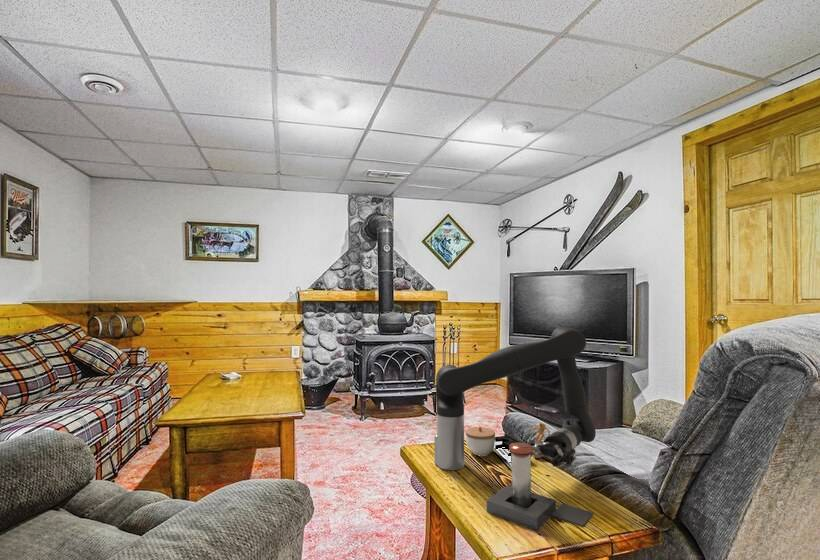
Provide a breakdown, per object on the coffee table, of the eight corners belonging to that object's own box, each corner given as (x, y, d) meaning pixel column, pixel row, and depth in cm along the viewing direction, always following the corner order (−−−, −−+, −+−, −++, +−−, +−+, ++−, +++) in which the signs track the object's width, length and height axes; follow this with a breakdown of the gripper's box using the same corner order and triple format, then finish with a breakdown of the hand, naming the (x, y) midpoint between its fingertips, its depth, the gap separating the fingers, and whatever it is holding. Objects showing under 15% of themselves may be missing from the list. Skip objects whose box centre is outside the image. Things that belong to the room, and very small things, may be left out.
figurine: (524, 455, 153) (524, 421, 154) (535, 451, 157) (535, 418, 157) (542, 462, 146) (542, 427, 147) (554, 459, 150) (554, 424, 150)
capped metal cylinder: (505, 512, 114) (505, 446, 114) (516, 503, 118) (515, 440, 119) (527, 520, 110) (526, 452, 110) (536, 510, 114) (536, 446, 115)
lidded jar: (475, 460, 148) (475, 433, 149) (460, 450, 158) (459, 424, 159) (501, 455, 153) (501, 429, 153) (484, 446, 163) (484, 421, 163)
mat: (551, 516, 112) (551, 514, 112) (562, 504, 118) (562, 502, 118) (582, 526, 107) (582, 525, 107) (593, 514, 113) (593, 512, 113)
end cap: (527, 460, 149) (527, 441, 149) (509, 463, 146) (509, 443, 146) (511, 450, 158) (511, 432, 158) (494, 453, 156) (494, 434, 156)
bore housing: (486, 511, 114) (486, 500, 114) (508, 495, 123) (508, 484, 123) (536, 530, 105) (536, 518, 105) (555, 511, 114) (555, 500, 114)
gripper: (538, 427, 140) (516, 440, 127) (583, 436, 131) (563, 451, 118) (539, 450, 140) (516, 466, 127) (584, 461, 130) (564, 479, 118)
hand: (539, 459), depth 123 cm, fingers open, 8 cm apart
